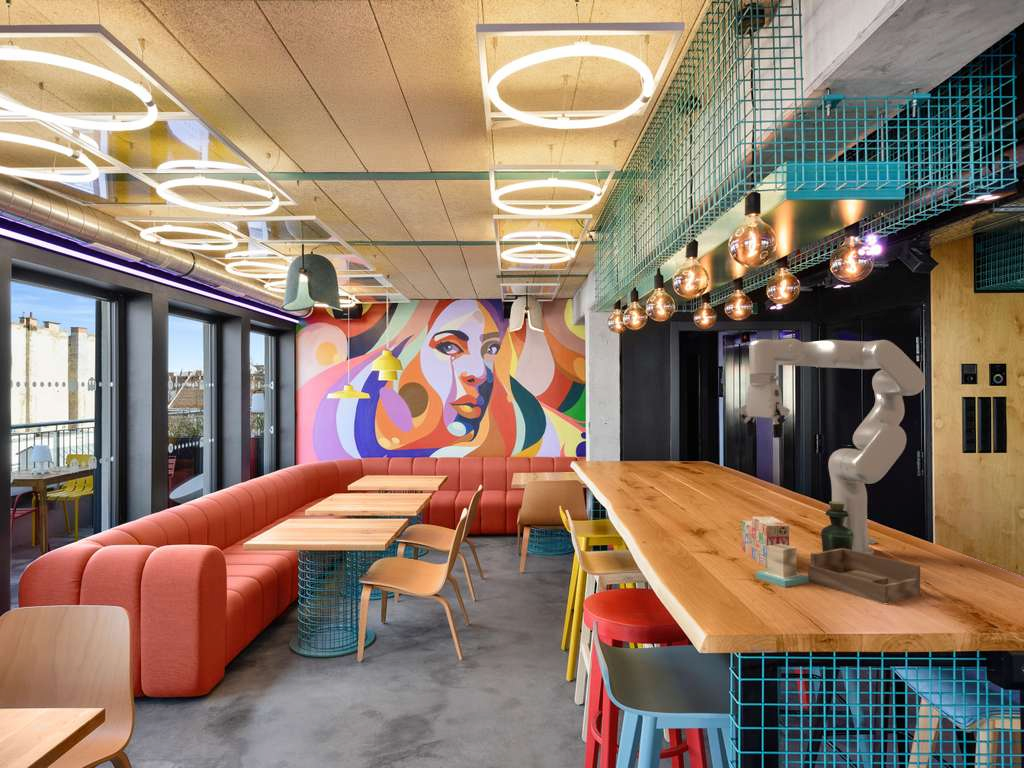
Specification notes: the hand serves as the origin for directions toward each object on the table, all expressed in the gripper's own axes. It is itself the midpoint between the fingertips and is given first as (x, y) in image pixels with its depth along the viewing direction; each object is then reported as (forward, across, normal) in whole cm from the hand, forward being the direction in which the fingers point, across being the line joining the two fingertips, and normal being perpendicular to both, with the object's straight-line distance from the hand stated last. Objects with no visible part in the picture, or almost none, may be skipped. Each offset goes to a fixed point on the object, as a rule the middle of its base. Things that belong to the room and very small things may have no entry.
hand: (763, 436), depth 190 cm
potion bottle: (+36, -20, -5) cm, 41 cm away
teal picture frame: (+35, -20, +19) cm, 45 cm away
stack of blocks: (+36, -3, +5) cm, 36 cm away
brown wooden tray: (+36, -34, +7) cm, 50 cm away
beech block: (+34, -20, +19) cm, 44 cm away
